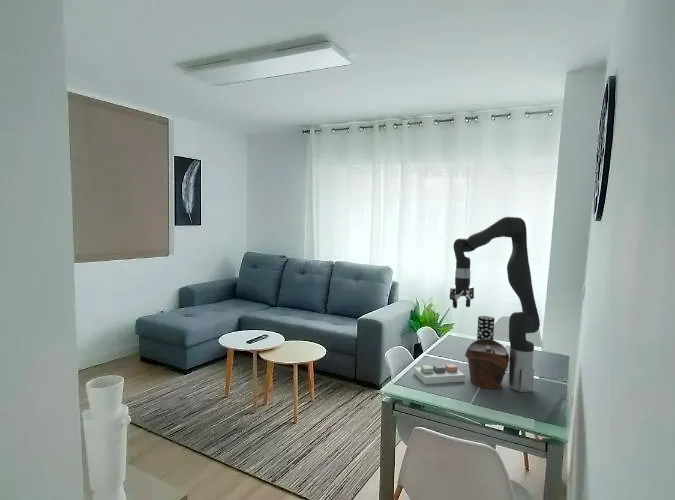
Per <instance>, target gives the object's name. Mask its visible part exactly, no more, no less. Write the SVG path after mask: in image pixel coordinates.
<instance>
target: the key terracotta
mask: <svg viewBox="0 0 675 500" xmlns="http://www.w3.org/2000/svg"><path fill="white" fill-rule="evenodd" d="M444 366H445V369H446V370H447V371H449V372H454V371H457V370H458V366H457V365H455V364H454V363H447V364H444Z"/></svg>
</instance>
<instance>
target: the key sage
mask: <svg viewBox="0 0 675 500" xmlns="http://www.w3.org/2000/svg"><path fill="white" fill-rule="evenodd" d="M420 367H421V371H423V372H424V373H433V368H432V367H431V365H429V364H427V365H425V364H424V365H420Z"/></svg>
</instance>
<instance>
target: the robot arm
mask: <svg viewBox="0 0 675 500" xmlns="http://www.w3.org/2000/svg"><path fill="white" fill-rule="evenodd" d="M527 234H528V233H527V225H526V222H525V220H524V219H523V217H522V218H521V217H518V216H504V217H502V218H500V219H498V220H497V221H496V222H494V223H492V224H491V225H489V226H488V227H486V228H485V229H483V230H480V231H478V232H475V233H473V234H471V235H469V236H468V238H457V239H455V240H454V242H453V253H454V257H455V260H456V263H455V264H456V265H455V272H454V273H455V274H454V275H455V276H454V285H455V287H454V288H453V287H450V292H449V300H451V301H452V307H453V309H458V299H460V298H461V297H464V298H465V307H467V308H471V301H472V300H474V299H475V288H474V287H472V286H470V285H471V258H470V257H468V256H466V254H465V253H470V252H473V251H475V250H477V249H478V248H479V247H483V246H486V245H487V244H489V243H490V242H491V241H492V240H493V239H496V238H503V237H504V238H510V239H511V245H512V246H511V247H512V249H511V254H510V257H509V259H508V261H507V264H506V265H507V266H506V270H507V279H508V280H507V281H508V283H509V285H510V287H511V289H512V291H513V292H514V293H515V294H516V296H517V297H518V300H519V301H520V305H521V311H515V312H513V313H511V314H510V316H509V319H508V341H509V343H510V347H509V362H508V380H507V386H508V388H509V389H511V390H514V391H517V392H519V393H528V392H533V391H534V381H535V380H534V379H535V378H534V377H535V370H534V367H533V365H534V353H535V345H534V343H533V342H532V341H530V340H527V335H526V334H535V333H537V332H538V331H539V329H540V326H541V324H540V323H541V322H540V321H541V320H540V317H539V311H538V307H537V303H536V300H535V295H534V288H533V283H532V282H533V281H532V274H531V267H530V262H529V260H530V259H529V251H528V238H527Z"/></svg>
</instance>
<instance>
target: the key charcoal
mask: <svg viewBox="0 0 675 500" xmlns="http://www.w3.org/2000/svg"><path fill="white" fill-rule="evenodd" d="M432 366H433V370H434V371H436V372H445V367H444V366H445V365H442V364H433V365H432Z"/></svg>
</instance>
